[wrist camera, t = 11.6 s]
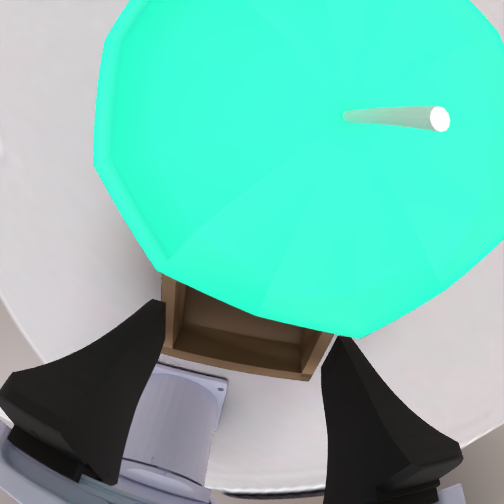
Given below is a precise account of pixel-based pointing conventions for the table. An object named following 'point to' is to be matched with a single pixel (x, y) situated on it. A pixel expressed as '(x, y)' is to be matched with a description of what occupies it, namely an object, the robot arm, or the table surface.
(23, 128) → the table surface
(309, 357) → the divided wooden tray
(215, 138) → the candle
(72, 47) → the table surface
